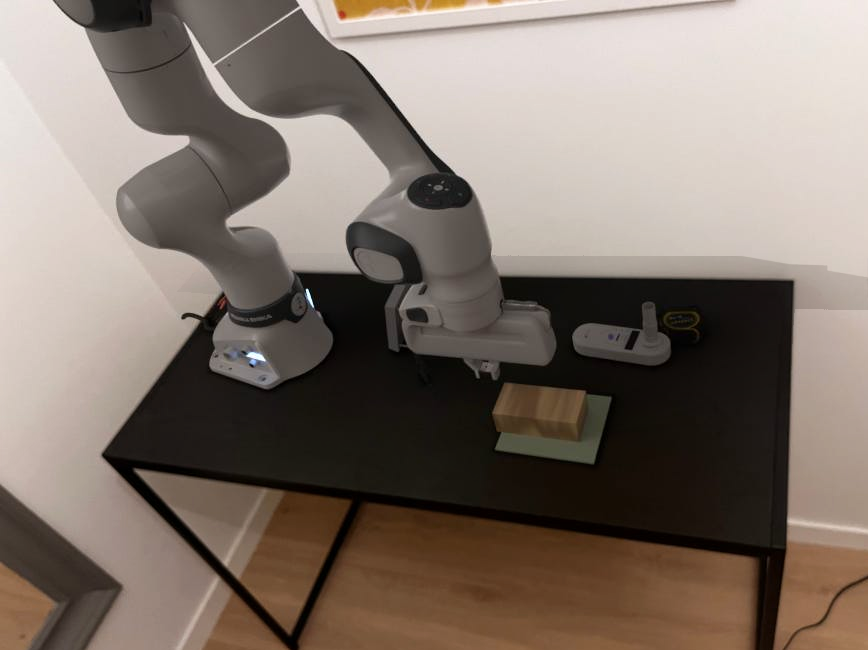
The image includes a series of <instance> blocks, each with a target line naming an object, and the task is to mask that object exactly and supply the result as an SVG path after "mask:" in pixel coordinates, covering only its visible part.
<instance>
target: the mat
mask: <svg viewBox="0 0 868 650" xmlns="http://www.w3.org/2000/svg"><path fill="white" fill-rule="evenodd" d="M586 395H587V403H588V413H587V417H586V420H585V424H584V427H583V431H582V434H581V438H580V441H579V442H574V441H566V440H558V439H551V438H543V437H535V436H528V435H520V434H512V433H505V432H500V435H499V438H498V440H497V442H496V446H495V448H494V450H495V451H499V452H505V453H512V454H519V455H525V456H526V455H527V456H533V457H538V458H539V457H540V458H547V459H554V460H560V461H567V462H575V463H581V464H587V465H595V464H596V463H595V462H596V459H597V455H598V452H599V449H600V448H599V447H600V445H601V440H602V436H603V432H604V429H605V426H606V425H605V424H606V422H607V417H608V414H609V411H610V410H609V409H610V406H611V402H612V400H613V399H612V396H608V395H607V396H605V395H597V394H588V393H586Z"/></svg>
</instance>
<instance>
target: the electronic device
mask: <svg viewBox="0 0 868 650" xmlns="http://www.w3.org/2000/svg"><path fill="white" fill-rule="evenodd" d="M641 310H642V311H641V312H642V319H643V320H642V329H639V328H632V327H625V326H624V327H623V326H616V325H610V324H602V323H594V322H589V323H584V324H582V325H579V326H578V327H577V328H576V329H575V330H574V331H573V333H572V343H573V348H574V350H575V351H576V352H577V353H578V354H580V355H581V356H586V357H592V358H598V359H604V360H610V361H611V360H612V361H617V362H624V363H630V364H638V365H643V366H659V365H662V364H663V363H666V362H667V361H668V360H669V359H670V358H671V355H672V348H671V347H672V346H671V345H672V344H670V339H669V338H668V337H667V336H666V335H664V334H663V333H661V332H660V331H658V320H657V318H656V304H655V303H654V302H652V301H646V302H644V303H642V305H641Z"/></svg>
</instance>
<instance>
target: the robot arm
mask: <svg viewBox="0 0 868 650" xmlns="http://www.w3.org/2000/svg"><path fill="white" fill-rule="evenodd" d="M52 1H53V2H54V4H55V5H56V6H57V8H58V9H59V10H60V11H61V12H62V13H63V14H64V15H65V16H66V17H67V18H69V20H71V21H72V22H73V23H75V24H76V25H78V26H80V27H82V28H83V29H84V31H85V33H86V36H87V38H88V41H89V43H90V45H91V48H92V49H93V52H94V54H95V56H96V58H97V60H98V63H99V64H100V66H101V68H102V70H103V71H104V73H105V75H106V77H107V79H108V81H109V83H110V85H111V87H112V89H113V91H114V92H115V94H116V96H117V98H118V100H119V102H120V104H121V105H122V108H123V110H124V111H125V113H126V116H127V117H128V118H129V120H130V121H131V122H132V123H133V124H134V125H135V126H137V127H138V128H140V129H142V130H144V131H146V132H148V133H152V134H155V135H160V136H174V137H175V136H181V137H183V136H185V137H188V140H189V142H188V143H187V145H185V146H184V147H183V148H181V149H179V150H176V151H175V152H172V153H171V154H168V155H166V156H165V157H163V158H161V159H159V160H157V161H155V162H152V163H150V164H149V165H147V166H145V167H143V168H142V169H140V170H139V171H138V172H136V173H135V174H134V175H133V176H132V177H130V178H129V179H128V180H127V181H126V182H124V183H123V184H122V185H121V186H119V187H118V189H117V192H116V196H115V197H116V198H115V207H116V212H117V215H118V218H119V221H120V222H121V225H122V226H123V228H124V229H125V230H126V232H127V233H128V234H129V235H130V236H131V237H133V238H134V239H135V240H137V242H140V243H141V244H143V245H145V246H147V247H150V248H153V249H158V250H167V251H168V250H169V251H174V252H179V253H182V254H185V255H187V256H190V257H192V258H194V259H195V260H197V261H198V262H200V263H201V264H202V265H203V266H204V267H205V268H206V269H207V270H208V271H209V272H210V274H211V275H212V276H213V278H214V279H215V282H216V283H217V285H218V286H219V287H220V289H221V290H222V292H223V293H224V296H223V297H222V298H221V299H220V301H219V302H218V304H217V306H220V307H219V310H223V308H225V306H227V307H226V308H227V311H226V312H225V313H224V314H222V315H221V316H219V317H218V319H216V321H215V322H216V324H217V325H216V326H210V322H209V320H208V319H207V318H206V317H204V316H202V315H200V314H197V313H194V312H184V313H182V315H181V318H180V319H181V321H182V320H183V321H184V320H186V319H187V318H192V319H194V320H198V321H200V322H201V323H203V328H204V330H205V331H208V332H211V333H213V334H212V343H213V346H214V350H213V352H212V354H211V355H210V359H209V365H208V366H209V368H210V370H211V371H212V372H214V373H217V374H220V375H222V376H225V377H229V378H232V379H234V380H238V381H240V382H243V383H246V384H249V385H252V386H254V387H255V386H256V387H258V388H261V389H264V390H271V389H273V388H275V387H277V386H278V385H280V384H282V383H283V382H285V381H287V380H289V379H293V378H295V377H298V376H301V375H303V374H305V373H307V372H309V371H311V370H313V369H314V368H315V367H317V366H318V365H319V364H320V363H322V361H324V359H325V358H326V357H327V356H328V354H329V353H330V351H331V349H332V347H333V343H334V336H333V333H332V331H331V329H330V328H329V327H328V326H327V325H326V324H325V322H324V317H323V315H322V314H321V312H320V311H318V310H316V309H315V306H314V304H313V300H312V298H311V294H310V292H309V289H308V288H306V289H304V287H303V284H302V283H301V279H300V277H299V276H298V274H297V273H296V271H295V270H294V269H292V267H291V265H290V264H289V261H288V259H287V257H286V255H285V252H284V250H283V248H282V246H281V244H280V242H279V240H278V238H277V237H276V236H275V235H274V234H273V233H271V232H270V231H269V230H267V229H266V228H262V227H259V226H254V225H252V226H251V225H238V226H237V225H236V226H228V224H227V220H228V219H230V218H231V217H232V216H233V215H235V214H237V213H238V212H240V211H242V210H244V209H245V208H247V207H249V206H251V205H252V204H254V203H256V202H258V201H259V200H262V199H263V198H266V197H267V196H268V195H270V194H271V192H273V191H274V190H276V188H277V187H279V186H280V185H281V184H282V183H283V182H284V181H285V180H286V179H287V178H289V176H290V174H291V170H292V157H291V152H290V147H289V146H288V143H287V142H286V140H285V138H284V136H282V135H281V133H280V132H279V131H278V130H277V129H276V128H275V127H274V126H272V125H271V124H270V123H268V122H266V121H264V120H262V119H259V118H255V117H249V116H247V115H244V114H242V113H240V112H238V111H236V110H235V109H233V108H232V107H230V106H229V104H227V103H226V102H225V101H224V100H223V99H222V98H221V97H220V96H219V94H218V93H217V91H216V90H215V88H214V86H213V84H212V83H211V80H210V78H209V77H208V74H207V73H206V70H205V68H204V67H203V65H202V62H201V59H200V58H199V56H198V53H197V50H196V49H195V46H194V43H193V41H192V39H191V37H190V34H189V33H188V30H189V31H190V32H191V34H192V35H193V36H194V39H195V40H196V41H197V43H198V45H199V46H200V48H201V49H202V50H203V52H204V53H205V55H206V56H207V59H209V61H210V62H211V64H212V65H213V67H214V68H215V70H216V71H217V72H218V74H219V75H220V77H221V78H222V80H223V81H224V82H225V84H226V86H228V88H229V89H230V90H231V91H232V93H233V94H234V95H235V97H236V98H238V100H240V102H242V103H243V104H244V105H245V106H246V107H247V108H249V109H250V110H252V111H253V112H256V113H258V114H261V115H264V116H266V117H270V118H275V119H280V120H281V119H282V120H284V119H285V120H291V119H292V120H293V119H301V118H306V117H313V116H321V115H322V116H323V115H325V116H331V117H332V116H333V117H336V118H338V119H341V120H342V121H344V122H345V123H347V124H348V125H350V127H352V129H353V130H354V131H355V132H356V133H357V135H358V136H359V137H360V138H361V140H363V142H364V143H365V144H366V145H367V146H368V148H369V149H370V150H371V151H372V152H373V154H374V155H375V156H376V158H377V159H378V160H379V162H381V164H382V165H383V166H384V167H385V168H386V170H387V172H388V184H387V185H386V186H385V188H383V189H382V190H381V191H380V192H379V194H377V195H376V196H375V197H374V198H373V199H372V200H371V201H370V202H368V204H366V205H365V207H363V209H362V210H361V211H359V213H358V214H357V215H356V216H355V217H353V219H352V220H351V222H350V223H349V225H347V228H346V230H345V236H344V237H345V238H344V239H345V246H346V250H347V253H348V255H349V257H350V259H351V261H352V263H353V264H354V266H355V267H356V269H357V270H358V272H359V273H361V275H363V276H364V277H365V278H366V279H368V280H369V281H372V282H376V283H379V284H383V285H394V286H395V285H412V287H411V288H410V290H409V291H408V293H407V294H406V296H405V298H404V300H403V302H402V304H401V306H400V308H399V314H400V316H401V318H402V319H403V322H402V329H403V334H404V337H405V339H404V341H405V344H406V345H407V346H408V347H407V348H408V349H409V350H410V351H411V352H412V351H413V352H414V353H416V354H419V355H427V356H434V357H435V356H436V357H446V358H458V359H459V358H460V359H462V360H463V362H464V364H466V365H467V366H468V367H469V368H470V369H471V370H472V371H474V374H475V377H476V379H480V380H481V379H482V380H492V381H498V379H499V377H500V374H501V369H500V364H501V363H510V364H521V365H531V366H540V367H541V366H545V367H546V366H547V365H548V364H549V363H551V361H552V360H553V358H554V356H555V353H556V349H557V339H556V336H555V332H554V329H553V327H552V326H553V323H552V322H553V321H552V317H551V312H550V310H549V309H548V308H546V307H544V306H542V305H539V304H538V302H536V301H531V300H529V301H527V300H526V301H520V300H514V299H505V297H504V291H503V287H502V282H501V277H500V274H499V270H498V267H497V264H496V263H495V262H494V259H493V257H492V250H493V243H492V237H491V234H490V229H489V226H488V222H487V219H486V215H485V212H484V209H483V206H482V204H481V201H480V199H479V197H478V195H477V193H476V192H475V189H473V187H472V185H471V184H470V182H468V181H467V180H466V179H465V178H463V177H462V176H460V175H458V174H457V173H456V172H455V171H454V170H453V169H452V168H451V167H450V166H449V164H447V163H446V162H445V161H444V160H442V158H440V157H439V156H438V155H437V154H436V153H435V152H434V151H433V150H432V149H431V148H430V147H429V145H428V144H427V143H426V142H425V140H424V139H423V138H422V137H421V135H420V134H419V132H417V130H416V129H415V128H414V127H413V125H412V124H411V122H410V121H409V120H408V118H406V116H405V115H404V114H403V112H402V111H401V109H399V107H398V106H397V104H396V103H395V101H394V100H392V98H391V97H390V96H389V94H388V93H387V92H386V90H385V89H384V88H383V87H382V85H381V84H380V83H379V81H378V80H377V79H376V77H374V75H373V74H372V73H371V72H370V71H369V70H368V68H367V67H366V66H365V65H364V64H363V63H362V62H361V61H360V60H359V59H358V58H357V57H355V56H354V55H353V54H351V53H350V52H348V51H346V50H343V49H340V48H338V47H336V46H335V45H334V44H333V43H331V41H329V40H328V39H327V38H326V37H325V36H324V35H323V34H322V33H321V32H320V31H319V29H318V28H317V27H316V26H315V25H314V23H312V22H311V20H310V18H309V17H308V16H307V15H306V13H305V11H304V10H303V8H302V7H301V5H300V4H299V2H298V0H52ZM186 27H187V28H186ZM187 29H188V30H187ZM215 63H216V64H215ZM305 291H306V292H305ZM487 361H488V362H487Z"/></svg>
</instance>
